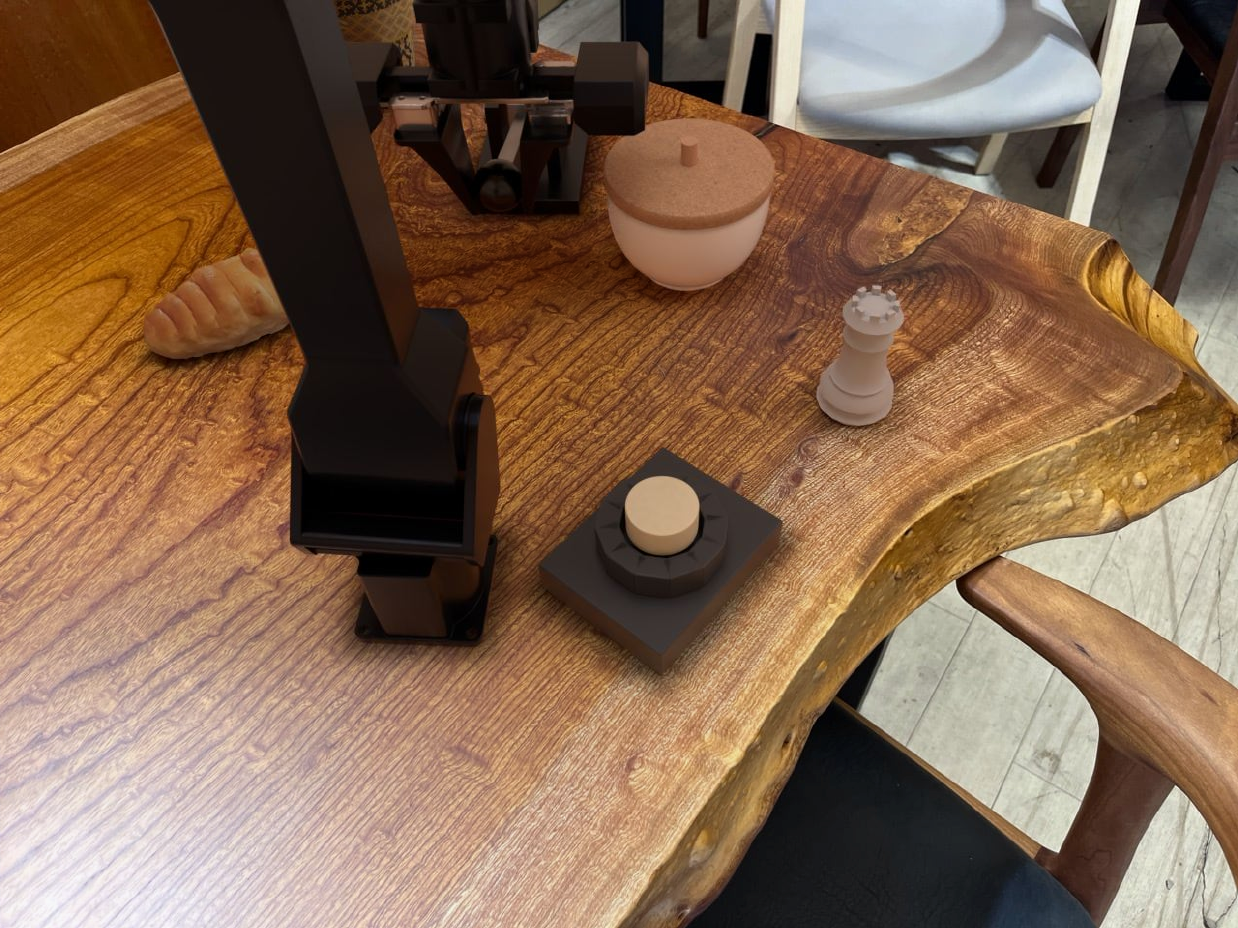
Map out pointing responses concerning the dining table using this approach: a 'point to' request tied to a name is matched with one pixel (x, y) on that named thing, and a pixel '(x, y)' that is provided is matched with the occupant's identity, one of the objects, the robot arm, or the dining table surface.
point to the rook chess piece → (862, 360)
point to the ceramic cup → (379, 24)
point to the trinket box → (688, 199)
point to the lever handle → (503, 168)
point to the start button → (662, 515)
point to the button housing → (660, 566)
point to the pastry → (216, 310)
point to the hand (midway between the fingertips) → (503, 211)
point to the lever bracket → (559, 175)
